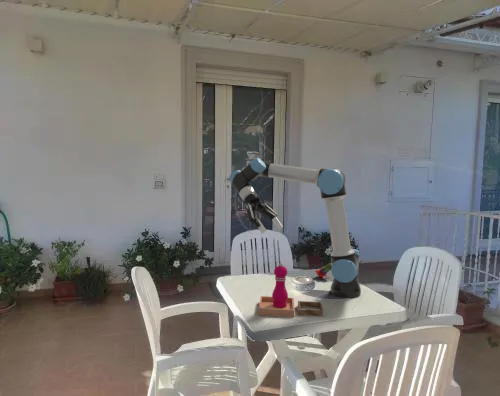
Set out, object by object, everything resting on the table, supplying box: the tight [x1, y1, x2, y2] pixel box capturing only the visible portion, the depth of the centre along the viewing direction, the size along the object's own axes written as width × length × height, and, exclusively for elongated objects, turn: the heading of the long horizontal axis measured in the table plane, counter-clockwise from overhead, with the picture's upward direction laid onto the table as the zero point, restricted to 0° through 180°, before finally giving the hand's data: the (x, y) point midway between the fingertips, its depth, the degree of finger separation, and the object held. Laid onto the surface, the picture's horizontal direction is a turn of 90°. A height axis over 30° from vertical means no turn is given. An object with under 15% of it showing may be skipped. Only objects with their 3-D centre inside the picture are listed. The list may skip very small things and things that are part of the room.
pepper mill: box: [271, 262, 289, 308], centre depth 180 cm, size 7×7×20 cm
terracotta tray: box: [257, 295, 295, 318], centre depth 179 cm, size 16×16×3 cm
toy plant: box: [315, 262, 332, 280], centre depth 227 cm, size 8×10×12 cm
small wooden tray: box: [297, 300, 324, 317], centre depth 178 cm, size 11×11×2 cm
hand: (272, 230), depth 191 cm, fingers open, 13 cm apart
